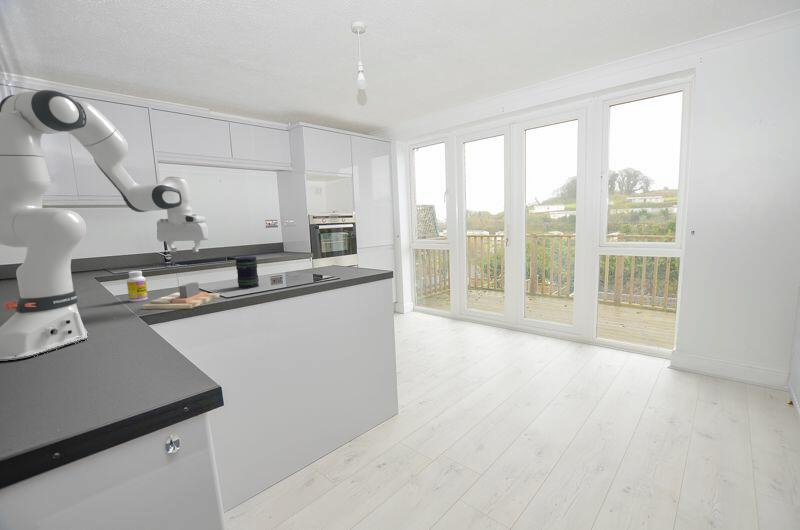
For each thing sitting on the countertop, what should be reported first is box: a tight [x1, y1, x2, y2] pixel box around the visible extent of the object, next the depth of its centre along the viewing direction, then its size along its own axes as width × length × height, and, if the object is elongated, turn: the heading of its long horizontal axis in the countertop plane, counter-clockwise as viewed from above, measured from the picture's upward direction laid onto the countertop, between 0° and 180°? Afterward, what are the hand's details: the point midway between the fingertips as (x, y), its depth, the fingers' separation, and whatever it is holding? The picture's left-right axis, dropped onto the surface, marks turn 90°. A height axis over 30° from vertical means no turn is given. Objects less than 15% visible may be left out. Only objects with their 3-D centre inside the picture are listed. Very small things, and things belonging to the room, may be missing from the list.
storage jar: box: [235, 256, 260, 290], centre depth 177 cm, size 10×10×15 cm
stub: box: [172, 281, 208, 303], centre depth 147 cm, size 14×6×6 cm, turn 177°
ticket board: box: [141, 291, 220, 310], centre depth 148 cm, size 20×20×3 cm
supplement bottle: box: [126, 270, 148, 303], centre depth 154 cm, size 7×7×13 cm
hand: (184, 251), depth 145 cm, fingers open, 8 cm apart
